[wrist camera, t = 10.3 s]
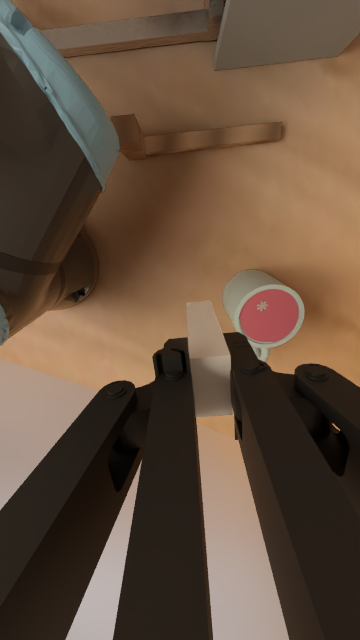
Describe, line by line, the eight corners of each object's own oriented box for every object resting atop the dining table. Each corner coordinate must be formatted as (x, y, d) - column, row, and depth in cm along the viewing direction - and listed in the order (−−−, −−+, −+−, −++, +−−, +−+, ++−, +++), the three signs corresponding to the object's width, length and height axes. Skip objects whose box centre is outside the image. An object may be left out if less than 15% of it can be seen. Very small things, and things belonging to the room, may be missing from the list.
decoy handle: (129, 160, 35) (115, 144, 27) (126, 139, 34) (111, 116, 26) (276, 144, 34) (303, 124, 27) (277, 122, 33) (305, 94, 26)
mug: (221, 272, 41) (233, 288, 31) (278, 266, 40) (307, 280, 31) (224, 346, 46) (236, 378, 37) (275, 340, 45) (299, 372, 36)
